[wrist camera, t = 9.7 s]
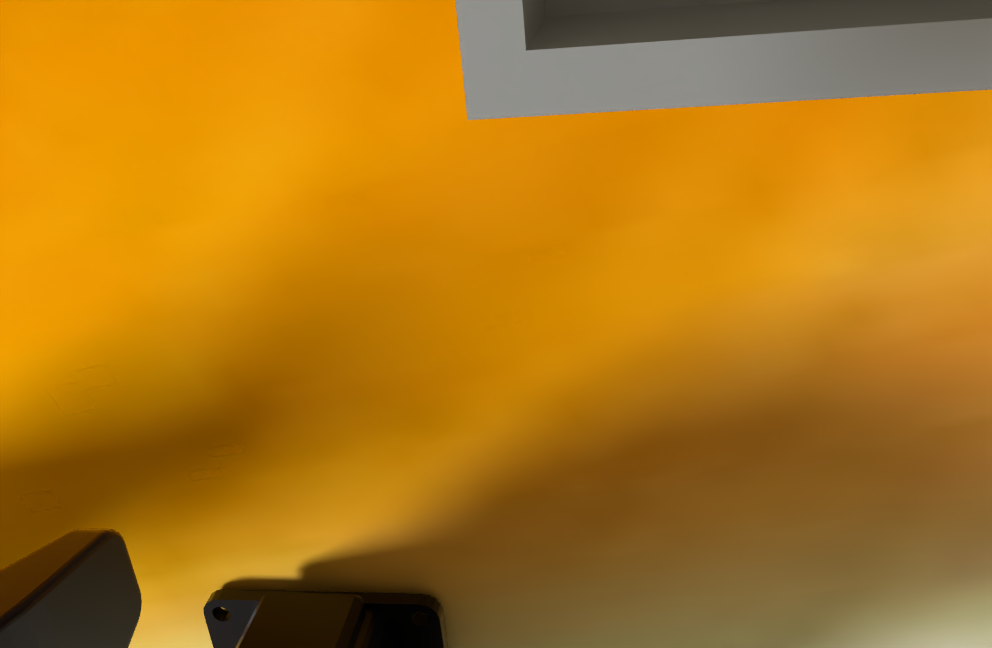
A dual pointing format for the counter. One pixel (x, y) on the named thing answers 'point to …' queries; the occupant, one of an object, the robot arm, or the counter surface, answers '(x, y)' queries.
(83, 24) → the counter surface
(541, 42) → the big crate
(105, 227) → the counter surface
